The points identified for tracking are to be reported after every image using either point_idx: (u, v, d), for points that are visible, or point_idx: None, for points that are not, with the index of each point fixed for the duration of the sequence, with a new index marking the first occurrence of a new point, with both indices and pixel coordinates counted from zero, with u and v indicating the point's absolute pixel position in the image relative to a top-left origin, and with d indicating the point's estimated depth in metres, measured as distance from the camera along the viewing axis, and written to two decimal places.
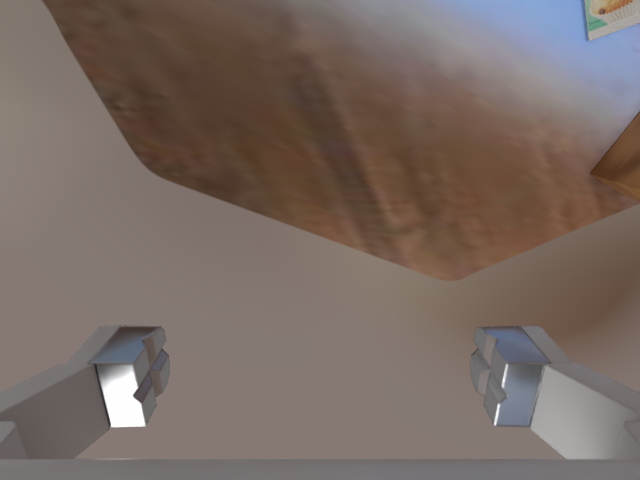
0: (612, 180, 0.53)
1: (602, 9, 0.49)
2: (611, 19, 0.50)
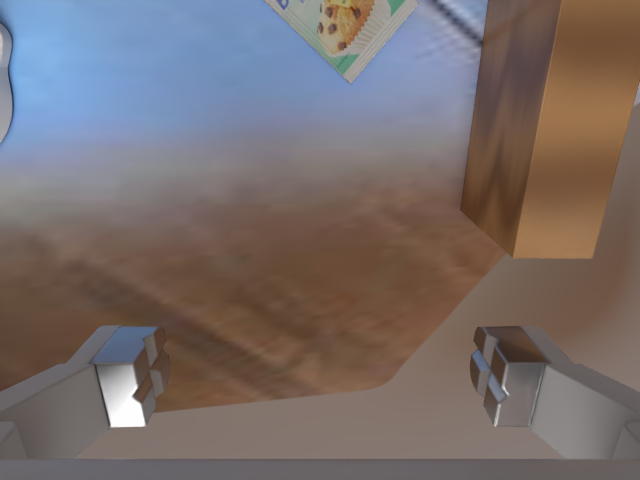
0: (476, 223, 0.39)
1: (341, 43, 0.37)
2: (360, 47, 0.37)
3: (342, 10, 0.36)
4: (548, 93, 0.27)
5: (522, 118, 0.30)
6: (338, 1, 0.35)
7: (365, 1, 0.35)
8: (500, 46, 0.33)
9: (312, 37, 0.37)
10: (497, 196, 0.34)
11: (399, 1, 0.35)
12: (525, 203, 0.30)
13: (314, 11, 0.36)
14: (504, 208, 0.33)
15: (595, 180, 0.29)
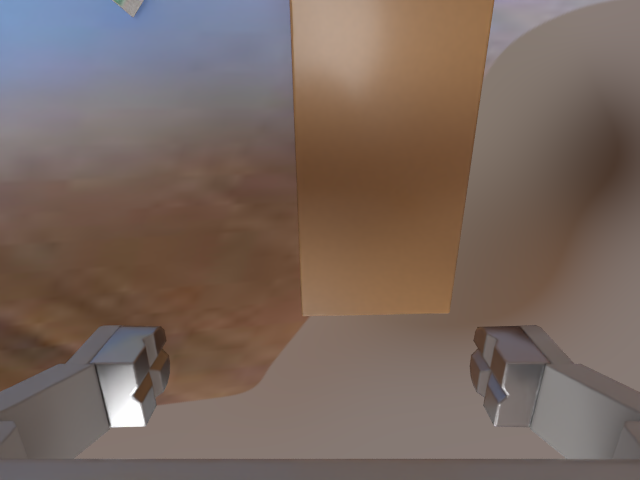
0: None
1: None
2: None
3: None
4: None
5: None
6: None
7: None
8: None
9: None
10: None
11: None
12: (303, 218, 0.15)
13: None
14: None
15: (434, 171, 0.14)
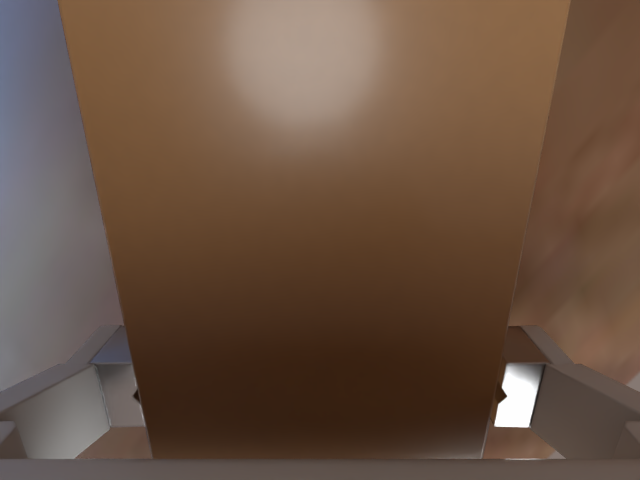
0: None
1: None
2: None
3: None
4: None
5: None
6: None
7: None
8: None
9: None
10: None
11: None
12: (155, 426, 0.07)
13: None
14: None
15: (428, 347, 0.07)
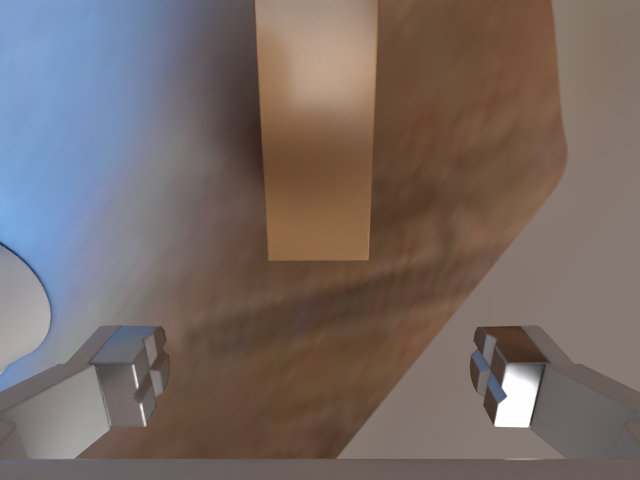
0: None
1: None
2: None
3: None
4: (262, 44, 0.21)
5: None
6: None
7: None
8: None
9: None
10: None
11: None
12: (267, 190, 0.23)
13: None
14: None
15: (350, 161, 0.23)
